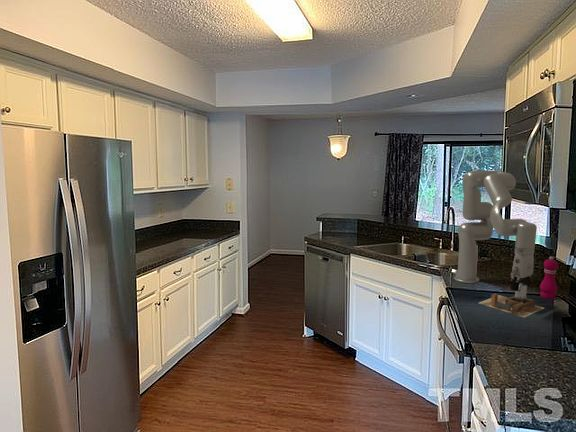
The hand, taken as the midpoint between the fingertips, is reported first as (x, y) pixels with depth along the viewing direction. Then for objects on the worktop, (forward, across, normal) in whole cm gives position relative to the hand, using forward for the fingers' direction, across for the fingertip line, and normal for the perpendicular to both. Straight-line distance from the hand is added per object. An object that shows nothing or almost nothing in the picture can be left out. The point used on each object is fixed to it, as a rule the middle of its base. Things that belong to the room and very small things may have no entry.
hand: (520, 287), depth 195 cm
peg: (+8, 0, -1) cm, 8 cm away
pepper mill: (+10, +26, -1) cm, 28 cm away
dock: (+10, -2, +2) cm, 10 cm away
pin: (+8, -9, +3) cm, 13 cm away
